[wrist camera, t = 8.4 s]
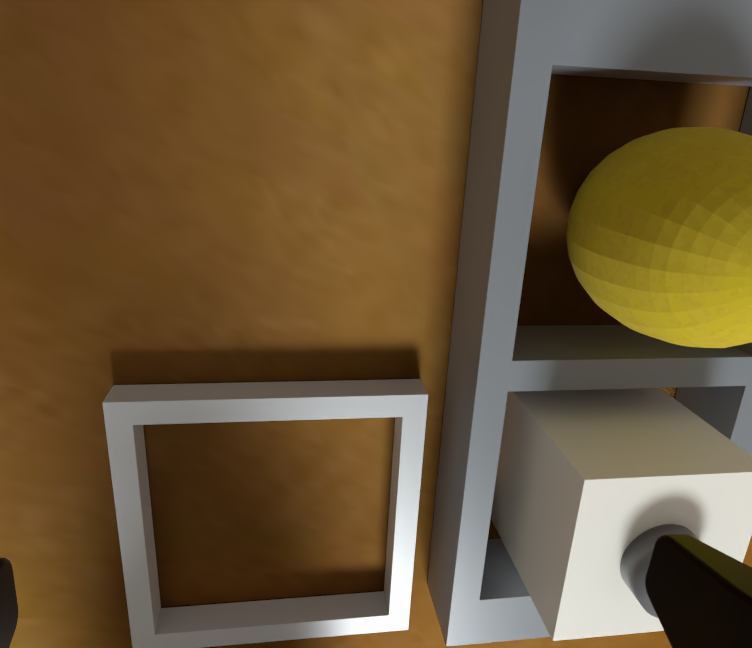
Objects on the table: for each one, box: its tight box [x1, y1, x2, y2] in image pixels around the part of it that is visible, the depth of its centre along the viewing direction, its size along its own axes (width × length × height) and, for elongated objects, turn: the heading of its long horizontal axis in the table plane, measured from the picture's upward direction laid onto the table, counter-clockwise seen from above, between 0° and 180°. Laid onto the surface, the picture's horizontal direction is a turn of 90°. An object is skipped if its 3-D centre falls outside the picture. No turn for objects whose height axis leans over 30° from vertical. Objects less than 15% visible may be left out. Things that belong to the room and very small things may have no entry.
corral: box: [102, 379, 428, 648], centre depth 21 cm, size 10×10×1 cm
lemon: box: [566, 127, 752, 348], centre depth 16 cm, size 6×6×8 cm
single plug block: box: [491, 388, 752, 641], centre depth 19 cm, size 6×6×7 cm
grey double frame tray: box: [427, 0, 752, 646], centre depth 20 cm, size 21×10×3 cm, turn 177°
